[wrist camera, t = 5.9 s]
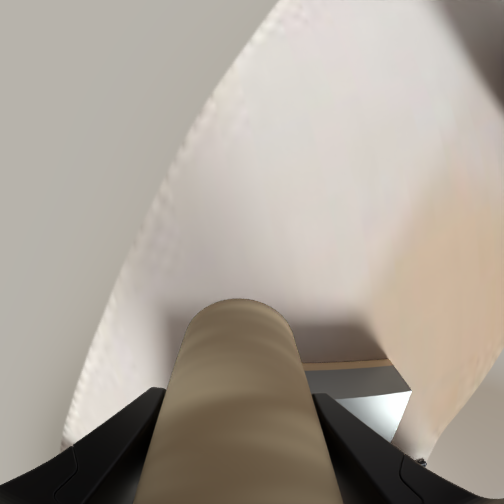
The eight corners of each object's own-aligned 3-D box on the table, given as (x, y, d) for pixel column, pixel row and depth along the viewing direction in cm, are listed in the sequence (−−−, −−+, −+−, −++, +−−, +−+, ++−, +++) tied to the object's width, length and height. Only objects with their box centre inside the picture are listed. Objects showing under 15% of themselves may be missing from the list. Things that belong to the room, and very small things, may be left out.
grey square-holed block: (388, 358, 23) (411, 390, 18) (351, 466, 26) (362, 498, 22) (209, 361, 22) (203, 399, 18) (213, 472, 25) (211, 507, 21)
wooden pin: (300, 300, 11) (428, 614, 1) (288, 392, 12) (337, 641, 2) (181, 295, 11) (56, 612, 1) (186, 389, 11) (138, 639, 2)
